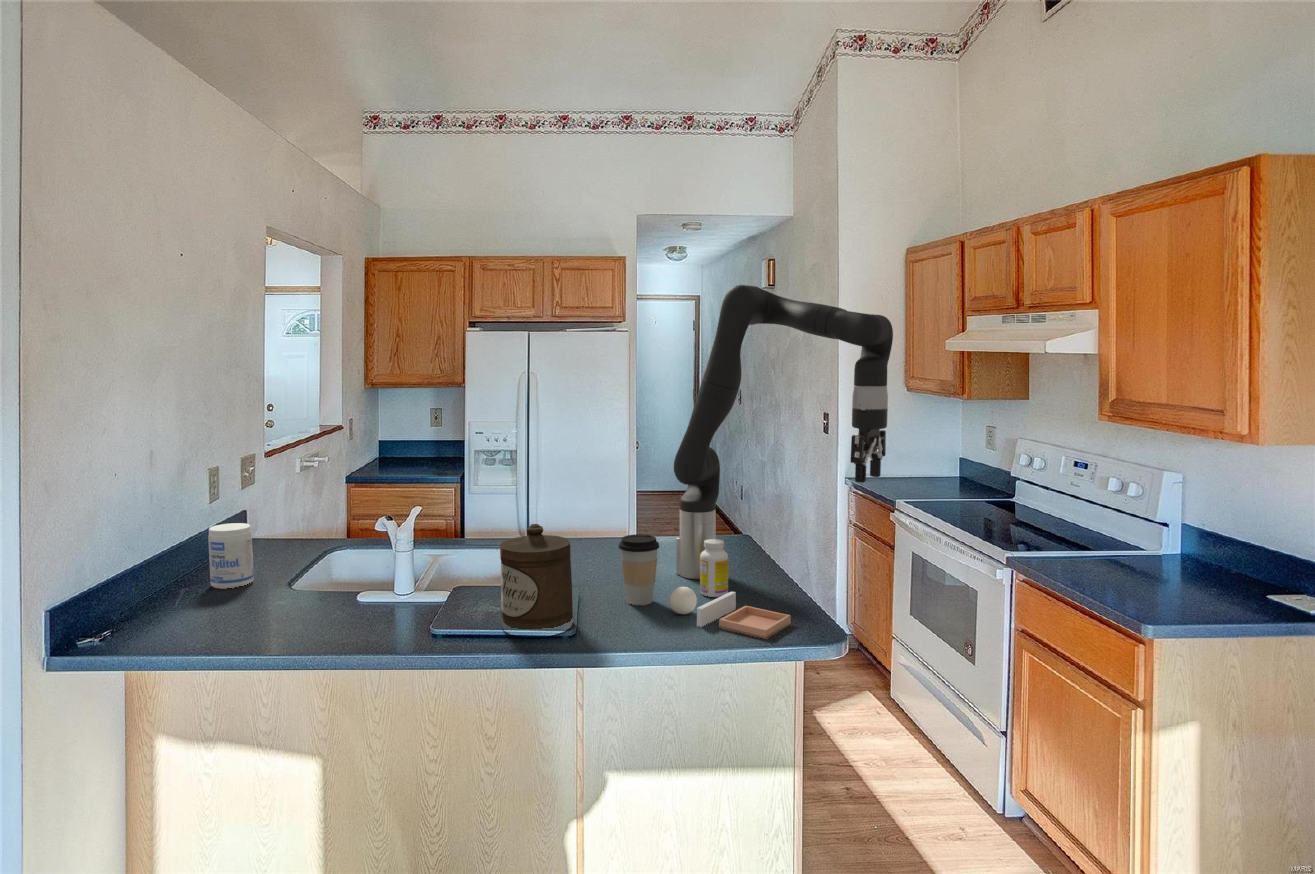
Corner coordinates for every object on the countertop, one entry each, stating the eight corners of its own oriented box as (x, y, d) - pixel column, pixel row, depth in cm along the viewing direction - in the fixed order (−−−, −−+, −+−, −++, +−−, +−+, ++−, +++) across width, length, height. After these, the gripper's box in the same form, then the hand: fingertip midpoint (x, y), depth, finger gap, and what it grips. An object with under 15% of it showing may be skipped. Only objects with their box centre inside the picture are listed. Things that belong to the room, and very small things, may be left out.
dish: (719, 628, 170) (719, 619, 170) (745, 614, 179) (745, 605, 179) (765, 639, 164) (765, 630, 163) (790, 624, 172) (790, 615, 172)
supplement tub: (208, 592, 197) (204, 532, 195) (213, 581, 205) (209, 524, 204) (253, 587, 200) (249, 528, 199) (255, 577, 209) (252, 521, 207)
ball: (664, 614, 179) (664, 588, 178) (679, 607, 184) (679, 581, 183) (686, 620, 175) (686, 593, 175) (701, 612, 180) (702, 586, 180)
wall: (696, 626, 172) (696, 608, 171) (731, 608, 183) (731, 591, 182) (701, 627, 171) (701, 609, 170) (735, 609, 182) (735, 592, 182)
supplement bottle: (731, 591, 196) (731, 539, 194) (724, 599, 189) (724, 545, 188) (704, 588, 198) (704, 536, 196) (696, 596, 192) (696, 543, 190)
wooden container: (490, 624, 173) (487, 523, 171) (550, 610, 182) (548, 514, 180) (523, 644, 162) (520, 536, 159) (586, 628, 171) (584, 526, 168)
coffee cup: (666, 598, 190) (666, 535, 189) (648, 610, 182) (648, 545, 180) (630, 593, 194) (629, 531, 192) (611, 605, 186) (610, 540, 184)
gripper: (865, 403, 186) (864, 473, 188) (840, 407, 174) (838, 482, 176) (898, 405, 181) (895, 476, 183) (874, 409, 170) (872, 485, 172)
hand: (867, 479), depth 180 cm, fingers open, 8 cm apart
